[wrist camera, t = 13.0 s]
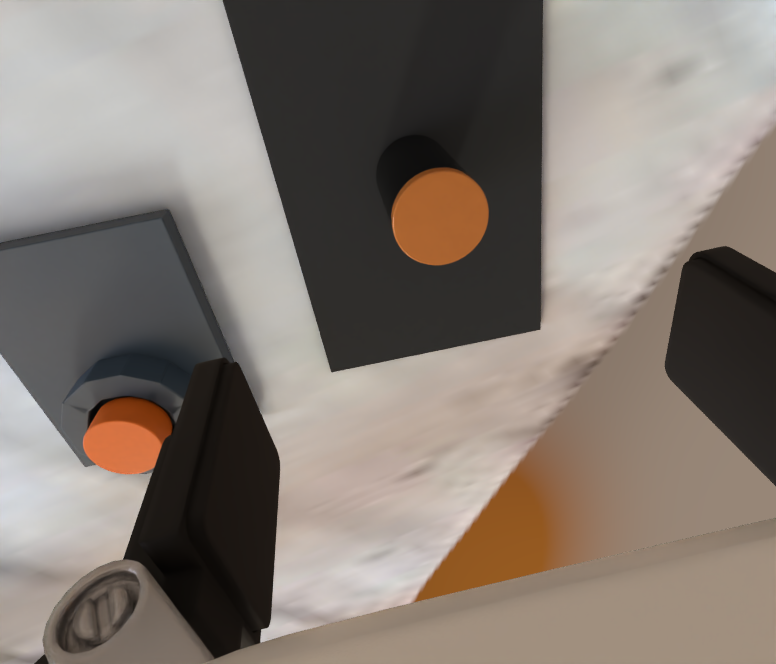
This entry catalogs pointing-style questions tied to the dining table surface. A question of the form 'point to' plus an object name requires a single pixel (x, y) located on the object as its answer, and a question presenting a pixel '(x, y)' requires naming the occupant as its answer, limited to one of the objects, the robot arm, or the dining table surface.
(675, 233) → the dining table surface
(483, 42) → the desk pad
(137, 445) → the button
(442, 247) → the battery
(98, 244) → the grey button base
